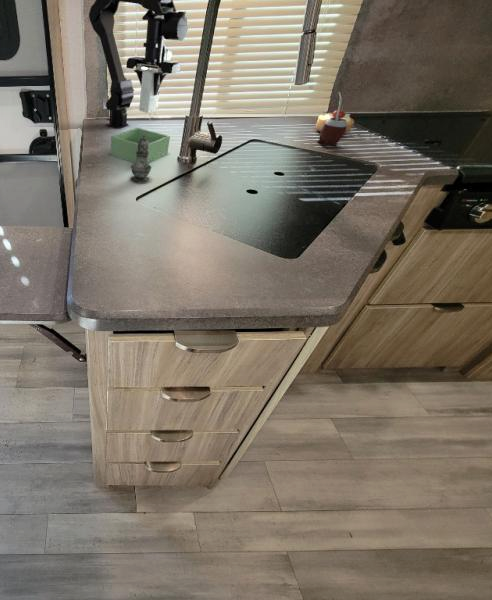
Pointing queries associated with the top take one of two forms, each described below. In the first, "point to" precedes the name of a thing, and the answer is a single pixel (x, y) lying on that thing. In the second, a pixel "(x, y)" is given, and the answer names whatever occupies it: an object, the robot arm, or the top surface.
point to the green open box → (128, 144)
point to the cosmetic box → (148, 92)
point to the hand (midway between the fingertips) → (149, 94)
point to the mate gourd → (333, 129)
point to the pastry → (325, 117)
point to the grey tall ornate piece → (141, 163)
